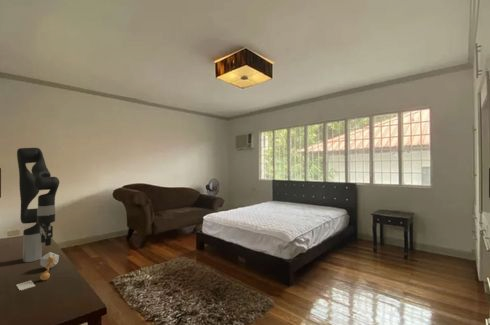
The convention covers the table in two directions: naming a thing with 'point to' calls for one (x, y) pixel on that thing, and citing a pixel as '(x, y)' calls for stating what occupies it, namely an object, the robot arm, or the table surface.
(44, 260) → the die
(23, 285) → the grey mat
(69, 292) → the table surface
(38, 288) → the table surface
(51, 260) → the figurine
